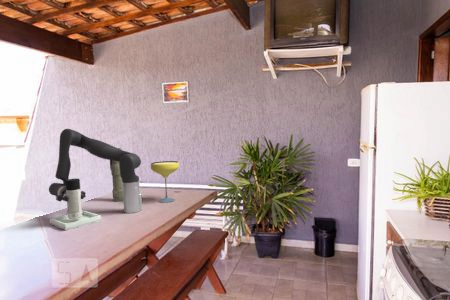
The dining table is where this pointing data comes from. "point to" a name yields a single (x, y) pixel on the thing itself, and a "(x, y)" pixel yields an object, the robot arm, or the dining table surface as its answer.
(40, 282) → the dining table surface
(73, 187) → the spray can
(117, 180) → the olive green statue
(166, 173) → the cocktail glass
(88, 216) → the sage tray
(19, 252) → the dining table surface
